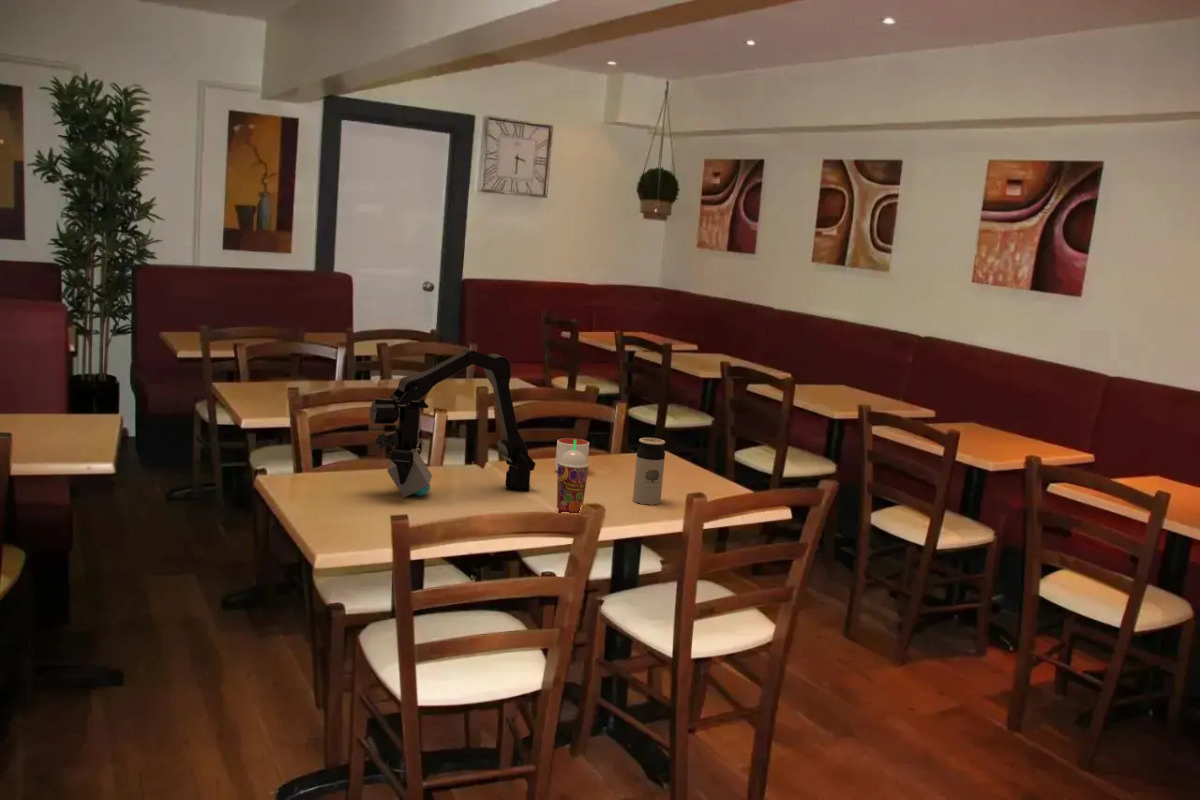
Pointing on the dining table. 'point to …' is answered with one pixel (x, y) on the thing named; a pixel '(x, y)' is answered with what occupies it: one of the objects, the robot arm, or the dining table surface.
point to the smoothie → (571, 480)
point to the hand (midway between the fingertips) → (405, 480)
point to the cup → (570, 447)
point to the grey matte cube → (412, 476)
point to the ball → (423, 491)
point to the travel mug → (649, 471)
